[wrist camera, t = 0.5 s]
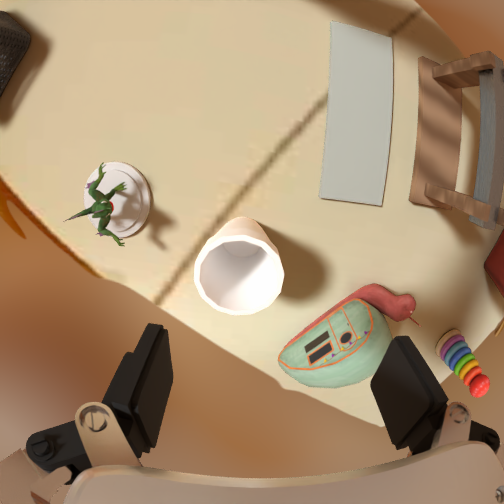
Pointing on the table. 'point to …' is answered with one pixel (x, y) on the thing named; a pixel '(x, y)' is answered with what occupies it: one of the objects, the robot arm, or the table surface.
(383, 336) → the toy snail
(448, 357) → the stacking toy
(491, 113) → the rail
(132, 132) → the table surface
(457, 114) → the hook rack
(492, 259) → the plant pot
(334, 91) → the mat
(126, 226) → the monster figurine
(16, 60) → the storage bin
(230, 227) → the foam cup
